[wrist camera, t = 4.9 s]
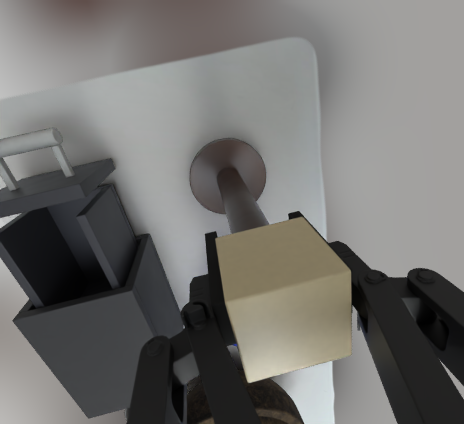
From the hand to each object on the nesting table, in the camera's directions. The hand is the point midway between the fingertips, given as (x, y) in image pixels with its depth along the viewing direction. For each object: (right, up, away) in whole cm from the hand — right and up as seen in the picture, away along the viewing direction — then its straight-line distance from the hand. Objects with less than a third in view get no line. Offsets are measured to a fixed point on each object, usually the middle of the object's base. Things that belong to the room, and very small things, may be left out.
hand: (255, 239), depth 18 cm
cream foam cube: (0, -1, -2) cm, 3 cm away
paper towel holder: (-2, +6, +14) cm, 15 cm away
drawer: (-18, +2, +12) cm, 22 cm away
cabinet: (-16, -9, +19) cm, 26 cm away
